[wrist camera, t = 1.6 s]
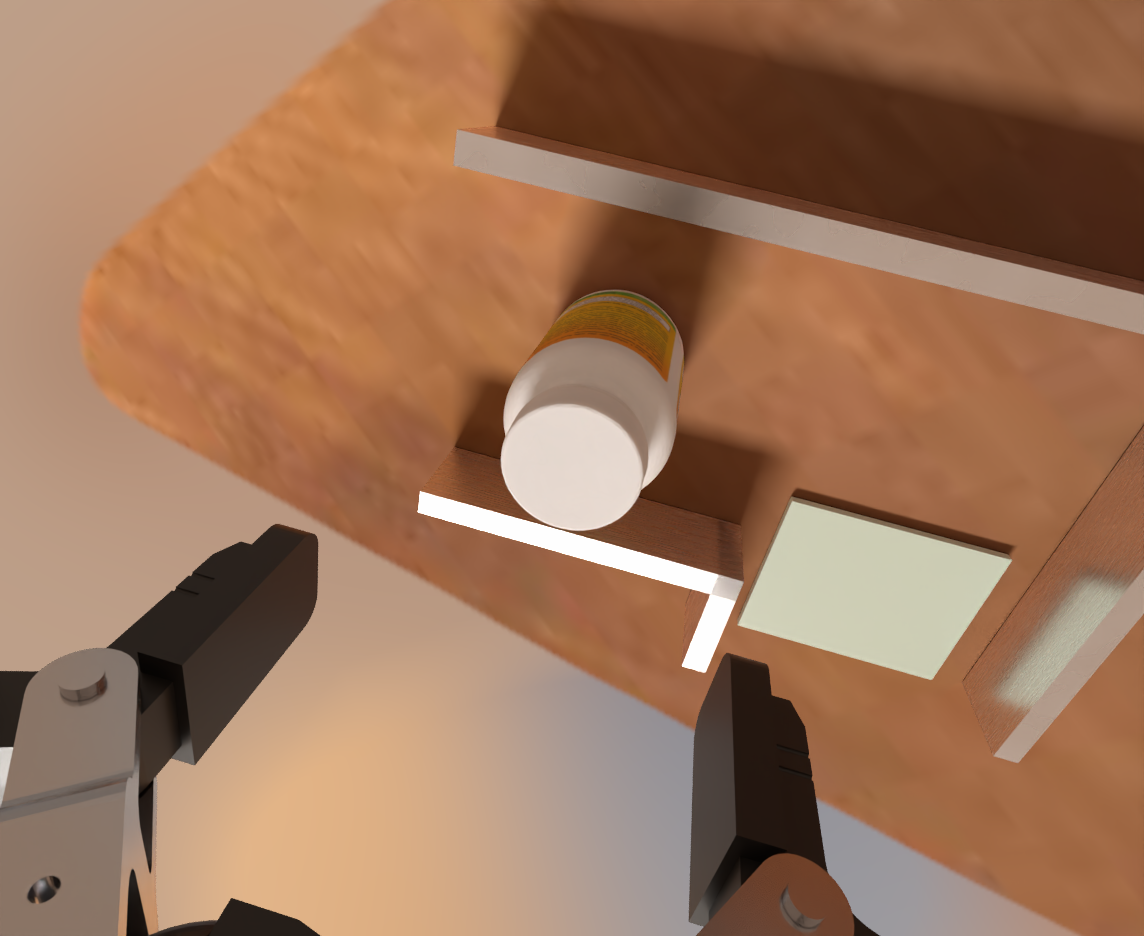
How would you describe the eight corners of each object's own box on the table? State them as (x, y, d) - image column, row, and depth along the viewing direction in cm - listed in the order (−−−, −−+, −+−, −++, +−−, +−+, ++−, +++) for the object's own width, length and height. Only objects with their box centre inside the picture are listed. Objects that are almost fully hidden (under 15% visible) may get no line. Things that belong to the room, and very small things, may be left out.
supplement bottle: (529, 311, 26) (442, 406, 18) (661, 267, 25) (634, 350, 16) (575, 431, 28) (517, 567, 20) (700, 399, 27) (694, 533, 18)
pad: (791, 496, 28) (792, 501, 28) (1008, 554, 27) (1012, 560, 27) (737, 619, 31) (737, 625, 31) (929, 673, 31) (931, 680, 30)
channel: (495, 126, 23) (456, 129, 20) (1262, 309, 22) (1366, 348, 18) (443, 536, 32) (410, 587, 29) (983, 689, 31) (1018, 763, 27)
